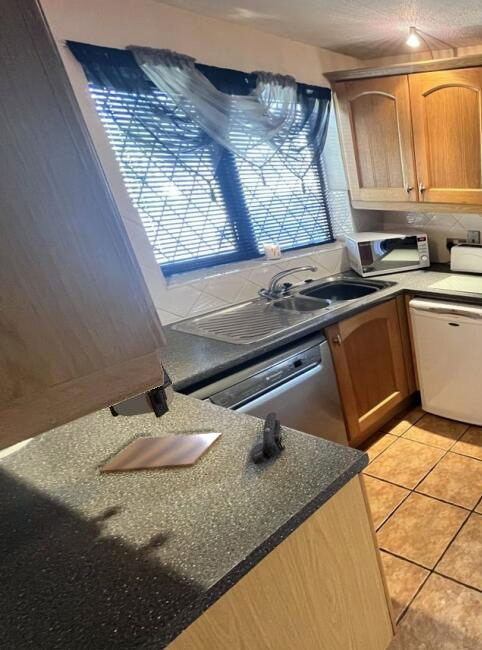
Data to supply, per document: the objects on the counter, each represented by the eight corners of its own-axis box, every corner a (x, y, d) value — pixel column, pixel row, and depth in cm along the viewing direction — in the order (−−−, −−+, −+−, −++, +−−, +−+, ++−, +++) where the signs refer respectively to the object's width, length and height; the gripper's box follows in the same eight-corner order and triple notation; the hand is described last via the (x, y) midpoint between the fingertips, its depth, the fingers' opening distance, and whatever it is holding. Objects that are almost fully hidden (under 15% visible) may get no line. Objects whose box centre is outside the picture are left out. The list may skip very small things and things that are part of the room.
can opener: (286, 460, 89) (281, 441, 87) (251, 470, 86) (244, 450, 84) (290, 418, 104) (286, 401, 102) (261, 426, 101) (255, 408, 99)
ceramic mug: (182, 399, 93) (155, 419, 86) (150, 403, 93) (120, 423, 86) (162, 361, 89) (132, 378, 82) (129, 365, 89) (96, 382, 82)
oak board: (99, 472, 87) (98, 470, 86) (139, 440, 97) (138, 438, 97) (193, 465, 88) (192, 463, 88) (222, 434, 98) (221, 432, 98)
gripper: (175, 317, 83) (201, 404, 91) (72, 314, 82) (108, 402, 90) (145, 332, 76) (176, 425, 84) (32, 328, 75) (75, 423, 83)
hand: (141, 413), depth 87 cm, fingers closed on ceramic mug, 9 cm apart
